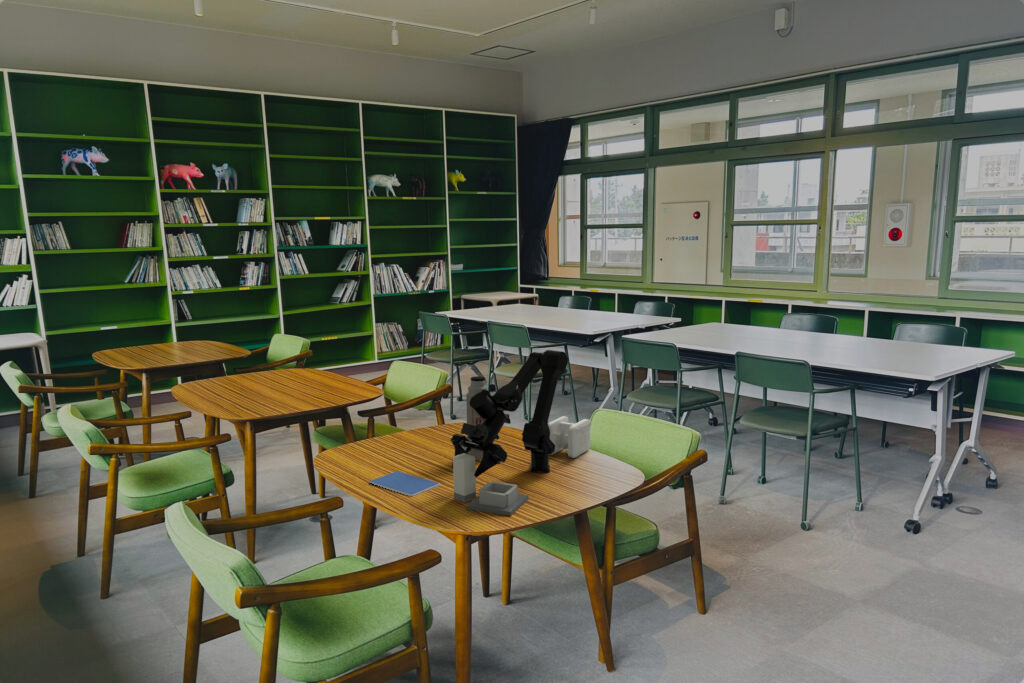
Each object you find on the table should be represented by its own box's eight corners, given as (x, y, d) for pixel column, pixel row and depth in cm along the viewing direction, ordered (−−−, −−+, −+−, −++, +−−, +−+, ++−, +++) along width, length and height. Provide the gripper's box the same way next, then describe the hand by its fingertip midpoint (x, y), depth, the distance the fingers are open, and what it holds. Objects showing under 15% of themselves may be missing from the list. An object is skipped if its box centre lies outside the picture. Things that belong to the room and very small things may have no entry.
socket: (487, 493, 198) (487, 477, 197) (528, 499, 192) (528, 483, 192) (467, 509, 186) (467, 492, 185) (510, 516, 181) (510, 499, 180)
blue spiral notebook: (441, 486, 205) (441, 482, 205) (411, 499, 195) (411, 494, 195) (397, 474, 217) (397, 470, 216) (367, 485, 207) (367, 481, 206)
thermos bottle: (488, 461, 227) (487, 379, 223) (465, 460, 228) (463, 379, 224) (492, 454, 235) (491, 375, 231) (469, 453, 236) (468, 374, 232)
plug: (465, 494, 197) (464, 453, 195) (476, 498, 194) (475, 456, 192) (453, 498, 194) (453, 456, 192) (464, 502, 191) (463, 459, 189)
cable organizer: (565, 445, 244) (565, 414, 243) (592, 449, 239) (592, 417, 237) (545, 456, 232) (545, 423, 230) (573, 461, 226) (573, 427, 225)
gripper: (454, 407, 200) (426, 451, 194) (500, 417, 188) (472, 465, 181) (473, 427, 207) (447, 471, 201) (519, 439, 195) (492, 485, 188)
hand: (463, 472), depth 192 cm, fingers open, 9 cm apart
